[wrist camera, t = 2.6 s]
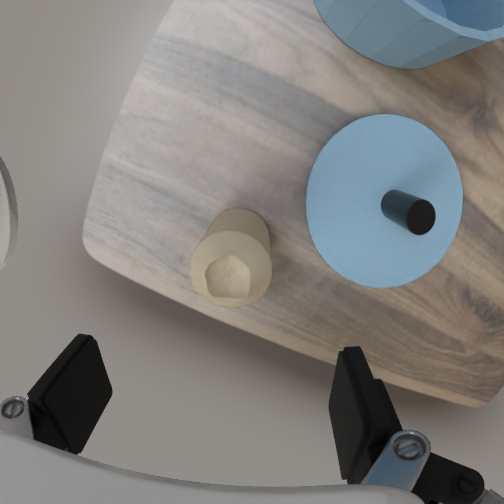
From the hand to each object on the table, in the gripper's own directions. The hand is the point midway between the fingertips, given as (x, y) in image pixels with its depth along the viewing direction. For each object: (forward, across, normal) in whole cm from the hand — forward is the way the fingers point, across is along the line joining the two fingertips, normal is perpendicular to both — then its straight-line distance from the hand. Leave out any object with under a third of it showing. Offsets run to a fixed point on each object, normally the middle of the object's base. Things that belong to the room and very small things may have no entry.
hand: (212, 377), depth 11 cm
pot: (+19, -14, -25) cm, 34 cm away
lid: (+18, -14, -4) cm, 23 cm away
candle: (+19, 0, 0) cm, 19 cm away
